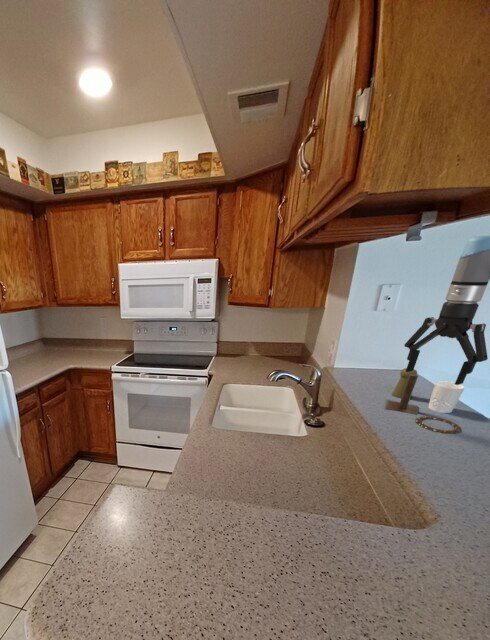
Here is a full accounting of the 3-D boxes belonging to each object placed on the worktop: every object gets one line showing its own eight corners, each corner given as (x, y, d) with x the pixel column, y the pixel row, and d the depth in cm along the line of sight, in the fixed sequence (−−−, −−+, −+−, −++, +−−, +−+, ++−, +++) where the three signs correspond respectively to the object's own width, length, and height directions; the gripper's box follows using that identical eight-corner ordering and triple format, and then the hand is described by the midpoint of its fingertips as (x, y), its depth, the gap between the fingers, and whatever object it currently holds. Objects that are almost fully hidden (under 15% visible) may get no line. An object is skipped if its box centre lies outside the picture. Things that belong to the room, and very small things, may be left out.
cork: (389, 395, 130) (398, 369, 125) (394, 391, 134) (403, 365, 129) (407, 399, 127) (417, 372, 121) (411, 395, 130) (421, 368, 125)
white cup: (444, 417, 112) (456, 390, 108) (420, 409, 119) (430, 383, 114) (457, 413, 115) (469, 386, 110) (433, 405, 122) (444, 379, 117)
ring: (458, 426, 107) (461, 421, 106) (461, 441, 98) (463, 436, 97) (414, 417, 113) (416, 412, 112) (412, 431, 104) (415, 426, 103)
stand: (416, 409, 119) (430, 373, 112) (415, 418, 112) (430, 381, 106) (387, 404, 123) (399, 369, 117) (385, 412, 117) (397, 376, 110)
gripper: (405, 298, 97) (384, 368, 107) (514, 308, 77) (475, 392, 87) (420, 297, 100) (398, 364, 110) (529, 305, 80) (489, 387, 90)
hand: (432, 377), depth 99 cm, fingers open, 13 cm apart
